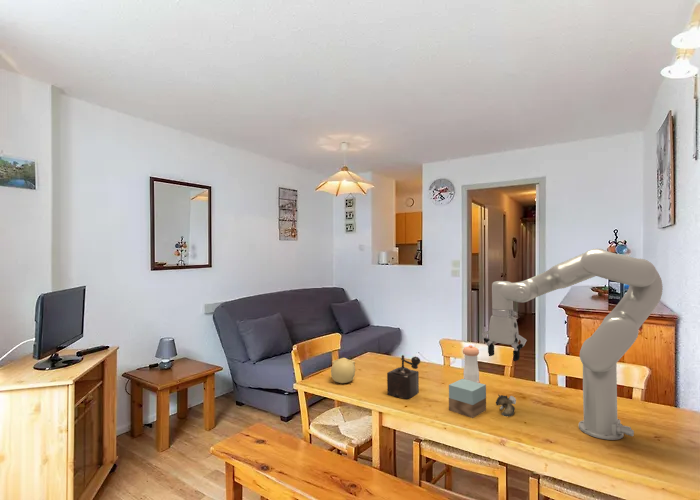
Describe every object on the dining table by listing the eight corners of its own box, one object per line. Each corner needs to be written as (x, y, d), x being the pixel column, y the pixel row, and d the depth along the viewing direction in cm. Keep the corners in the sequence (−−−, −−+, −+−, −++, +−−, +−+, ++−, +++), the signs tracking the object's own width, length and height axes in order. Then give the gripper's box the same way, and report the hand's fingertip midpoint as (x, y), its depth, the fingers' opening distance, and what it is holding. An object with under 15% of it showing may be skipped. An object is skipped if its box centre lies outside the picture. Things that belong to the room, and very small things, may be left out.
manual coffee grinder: (385, 395, 163) (384, 353, 163) (398, 387, 172) (397, 347, 172) (418, 403, 153) (417, 358, 153) (430, 394, 162) (429, 352, 162)
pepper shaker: (459, 388, 169) (459, 345, 169) (468, 384, 174) (467, 342, 174) (474, 392, 164) (473, 348, 164) (483, 388, 168) (482, 345, 169)
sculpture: (356, 377, 187) (356, 355, 187) (353, 385, 175) (352, 362, 175) (333, 376, 188) (333, 354, 188) (329, 385, 176) (328, 361, 177)
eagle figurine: (492, 402, 150) (490, 406, 142) (502, 387, 150) (501, 391, 142) (509, 416, 147) (509, 421, 139) (520, 401, 146) (520, 405, 138)
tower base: (486, 410, 145) (485, 397, 146) (472, 418, 139) (472, 405, 139) (463, 403, 153) (462, 391, 153) (448, 410, 146) (448, 397, 146)
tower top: (486, 397, 146) (485, 384, 146) (472, 405, 139) (472, 391, 139) (462, 391, 153) (462, 378, 153) (449, 397, 146) (448, 384, 146)
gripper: (529, 314, 142) (530, 360, 142) (486, 310, 155) (487, 352, 154) (521, 317, 137) (521, 364, 137) (477, 312, 149) (477, 355, 149)
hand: (503, 358), depth 145 cm, fingers open, 9 cm apart
